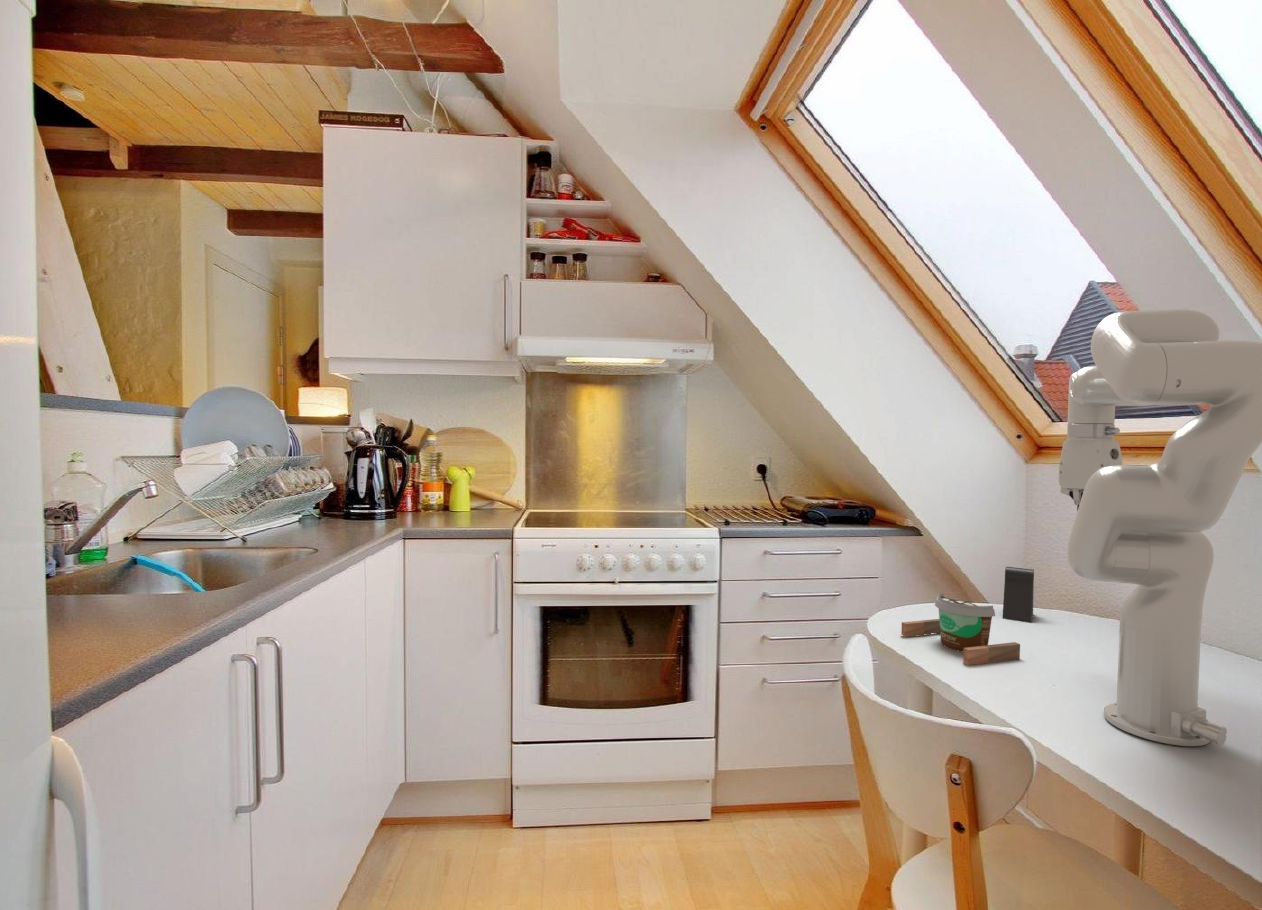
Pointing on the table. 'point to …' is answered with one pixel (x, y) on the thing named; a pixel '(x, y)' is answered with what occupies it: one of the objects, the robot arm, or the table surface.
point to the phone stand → (1018, 594)
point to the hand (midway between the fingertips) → (1086, 525)
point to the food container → (963, 623)
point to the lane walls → (971, 653)
